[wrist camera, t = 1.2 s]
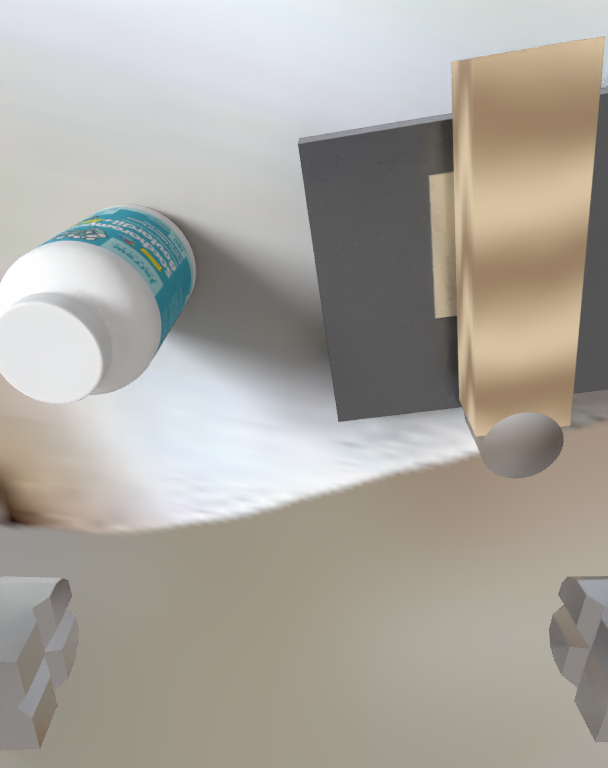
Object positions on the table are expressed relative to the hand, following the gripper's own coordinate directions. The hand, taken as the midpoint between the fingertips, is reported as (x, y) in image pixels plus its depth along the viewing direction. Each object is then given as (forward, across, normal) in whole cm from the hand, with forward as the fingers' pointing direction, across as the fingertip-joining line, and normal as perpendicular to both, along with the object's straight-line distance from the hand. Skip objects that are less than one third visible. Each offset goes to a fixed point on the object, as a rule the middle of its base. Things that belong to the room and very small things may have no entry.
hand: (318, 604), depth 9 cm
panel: (+27, -11, 0) cm, 29 cm away
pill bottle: (+28, +10, +1) cm, 30 cm away
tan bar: (+23, -11, 0) cm, 25 cm away
